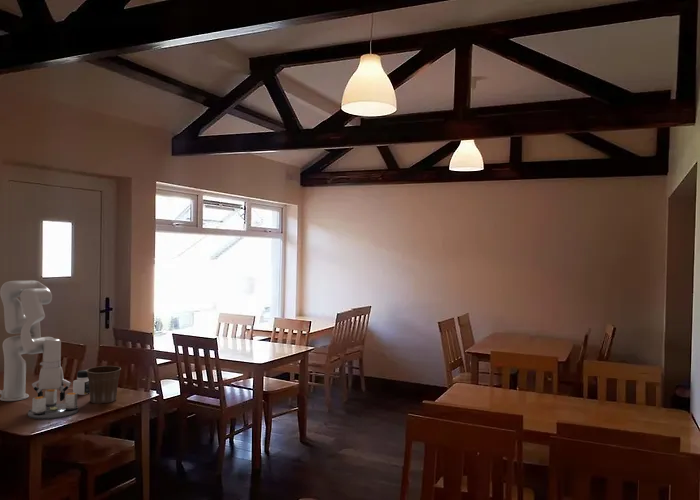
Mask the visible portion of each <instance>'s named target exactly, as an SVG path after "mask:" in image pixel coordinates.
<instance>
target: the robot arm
mask: <svg viewBox="0 0 700 500" xmlns="http://www.w3.org/2000/svg"><path fill="white" fill-rule="evenodd" d="M0 299H1V303H2V305H3V313H4V315H3V317H4V327H5V331H6V333H8V334H12V335H13V334H20V335H14V336H10V337H7V338H5V339H4V340H3V342H2V351H3V359H4V361H3V362H4V365H3V366H4V369H3V372H4V373H3V389H2V390H1V389H0V401H2V402H3V401H4V402H17V401H22V400H26V399H28V398H29V397H30V395H29V394H28V393H26V385H27V384H26V382H27V380H26V377H27V361H26V360H25V359H24V358H23V356H22V355H25V354H27V355H36V354H37V355H38V354H42V361H41V362H40V363H39V366H42V367H40V370H39V371H40V372H39V375H38V380H36V381H34V382H33V383H31V386H32V388H33V390H34V391H35V392H36V393H37V397H40V396H43V397H44V391H43V390H48V389H55V390H59V391H60V392H59V401H60V402H62V401H64V399H65V397H66V391H67V390H68V389H69V388H70V386H71V385H72V381H68V380H67V379H64V371H63V367H62V366H61V363H62V361H61V359H62V358H61V357H62V341H61V339H59V338H54V337H52V336H41V335H42V333H41V332H42V331H41V330H42V329H41V322H42V321H43V320H44V319H45V318H46V314H45V311H44V306H43V305H49V304H50V303H51V302H52V301H53V294H52V291H51V290H50V289H49V288H48V286H46V285H45V284H43V283H41V282H40V281H39V280H33V279H29V280H9V281H6V282H4V283H3V284H2V285H1V287H0ZM64 385H65V387H64Z"/></svg>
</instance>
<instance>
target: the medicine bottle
mask: <svg viewBox="0 0 700 500" xmlns="http://www.w3.org/2000/svg"><path fill="white" fill-rule="evenodd" d="M86 370H87V369H81V370H78V371H77V373H76V379H75V380H73V381H72V383H73V384H72V393H78V395H79V396H80V395H81V396H85V395H88V393H89V394H90V390H89V379H88V374H87V372H86Z"/></svg>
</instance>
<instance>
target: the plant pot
mask: <svg viewBox="0 0 700 500" xmlns="http://www.w3.org/2000/svg"><path fill="white" fill-rule="evenodd" d="M85 370H86V372H87V374H88V379H89V390H90V393H89V401H90V403H92V404H95V405H96V404H99V405H101V404H104V403H105V404H107V403H113V402H116V401H117V393H118V385H119V378H120V374H121V370H122V368H121V366H116V365H115V366H114V365H102V366H101V365H100V366H99V365H98V366H95V367H90V368H87V369H85Z"/></svg>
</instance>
